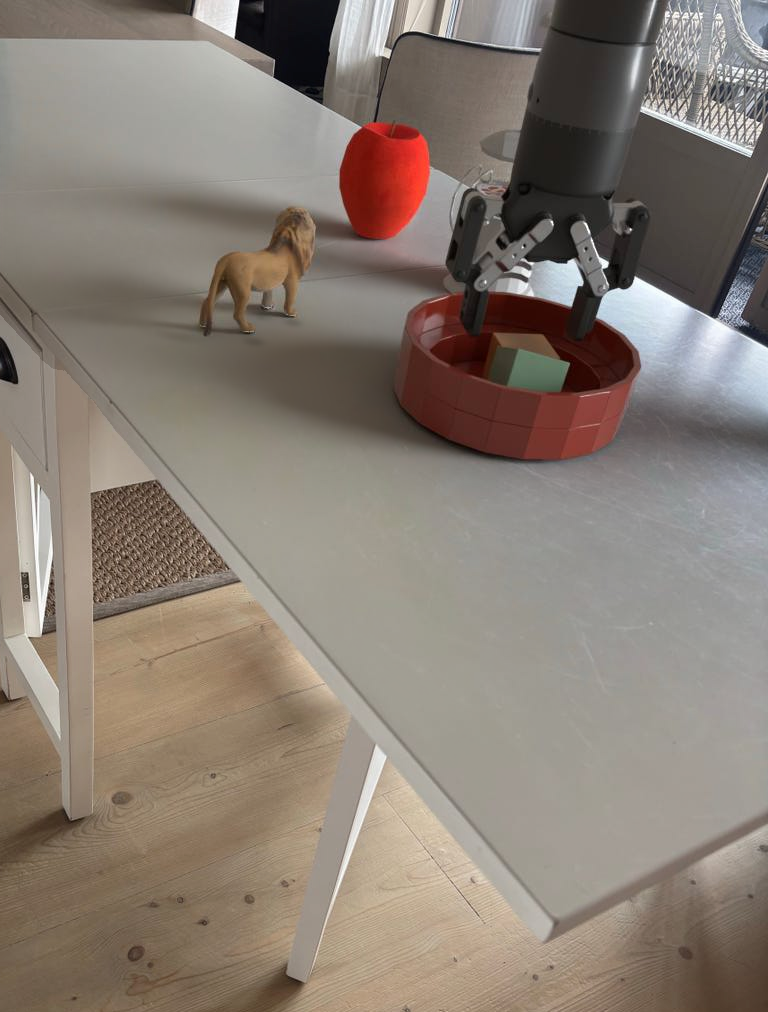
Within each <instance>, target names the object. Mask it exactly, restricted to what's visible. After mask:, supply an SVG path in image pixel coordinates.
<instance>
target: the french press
mask: <svg viewBox="0 0 768 1012" xmlns="http://www.w3.org/2000/svg"><path fill="white" fill-rule="evenodd" d="M551 15H552V11H548V12H546V13H544V14H543V15H542V17H541V19H540V21H539V27H542V28H544V29H547V30H548V27H549V25H550V19H551ZM520 132H521V128H508V129H504V130H499V131H496V132H493V133H492V134H490V135H488V136H486V137H484V138H483V139H482V140H480V141H479V146H480V149H481V152H482V153H483V154H485V155H486V156H488V157H491V158H493V159H495V160H498V161H502V162H506V163H511V164H513V163H514V158H515V154H516V150H517V145H518V141H519V137H520ZM477 168H479V171H478V177H477V178H476V179H475V181H474V182H473V184H472V185H471V187H470V188H474V189H476V190H477V191H478V193H479V194H482V195H490V196H498V197H501V196H502V195H503V193H504V192H505V191H506V189H507V187H508V185H509V183H510V181H509V180H507V181H506V180H502V179H501V180H500V179H498V180H497V179H496V180H493V177H494V170H493V169H487V170H485V171H484V172H483V165H482V164H479V163H477V164H476V165H475V166H473V167H472V168H470V169H469V170H468V171H466V173H465V174H464V175H463V177H462V178H461V180H460V181H459V183H458V185H457V187H456V188H455V191H454V193H453V196H452V199H451V204H450V209H449V226H450V230H451V233H452V234H453V230H454V224H453V223H454V222H453V213H454V207H455V200H456V197H457V195H458V194H459V193H458V192H459V190H460V188H461V186H462V185H463V183H464V182H465V180H466V179H467V177H468V176H469V175H470V173H472V172H473V171H475V170H476V169H477ZM482 172H483V173H482ZM489 173H490V175H489V178H488V180H485V179H484V178H483V177H485V176H486V175H488V174H489ZM479 181H480V183H479ZM496 217H497V218H496ZM503 227H504V225H503V223H502V220H501V218H500V216H499V214H497V215H495V216H494V217H493V218H492V219H491V221H490V223H489V225H488V226H487V227H485V228H481V232H480V236H479V239H478V243H477V246H476V250H475V254H474V257H473V261H472V263H473V262H474V261H475V260H476V259H477V257H478V256H479V255H480V254H481V253H482V252H483V251H484V250H485V249H486V245H487V243H488V242H489V241H490V240H491V239H492V238H493V237H494V236H495V235H496V234H497V233H498V232H499V231H500V230H501V229H502V228H503ZM510 245H511V244H510ZM510 245H509V246H510ZM509 246H508V247H509ZM534 264H535V262H527V261H526V259H524V258H522V259H521V260H520V261H519V262H518V263H517V264H516V265H515V266H514V267H513V268H512V269H511V270H510V271H508V272H504V273H503V274H502V275H501V276H500V277H499V278H498V279H497V280H496V281H495V282H494V283H493V284H492V285H491V286H490V287H489V288H488V289H487V290H488V291H493V292H509V293H515V294H521V295H527V296H533V297H536V296H535V292H534V290H533V288H532V287H531V285H530V280H529V278H530V277H531V276H532V272H533V267H532V266H534ZM442 282H443V287H444V288H445V289H446V290H447V291H448V293H455V292H464V290H465V285H466V284H465V283H463V282H457V281H455V280H454V278H453V277H452V275H451V273H450V272H449V273H448V274H447V275H446V276H445V277H444V278H443V279H442Z"/></svg>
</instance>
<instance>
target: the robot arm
mask: <svg viewBox="0 0 768 1012" xmlns="http://www.w3.org/2000/svg"><path fill="white" fill-rule="evenodd" d="M669 2H670V0H554V1H553V6H552V10H551V12H552V15H551V19H550V25H549V27H548V29H547V31H546V35H545V38H544V40H543V43H542V46H541V49H540V51H539V54H538V57H537V60H536V64H535V68H534V72H533V76H532V81H531V83H530V85H529V86H528V90H527V95H526V98H527V103H526V107H525V110H524V116H523V119H522V123H521V124H522V125H521V128H520V129H521V132H520V137H519V141H518V145H517V150H516V154H515V158H514V163H512V167H511V173H510V179H509V185H508V187H507V189H506V191H505V192H504V193H503V195H502V196H501V197H498V196H490V195H482V194H479V193H478V191H477V190H476V189H475V187H474V188H471V187H468V188H466V189H465V190H464V191H463V192H462V196H461V199H460V203H459V207H458V211H457V215H456V218H455V223H454V225H453V233H452V235H451V238H450V242H449V245H448V250H447V252H446V258H445V260H444V261H445V263H444V264H445V268H446V269H447V270H448V272H449V274H450V273H451V275H452V277H453V278H454V280H455V281H457V282H463V283H465V284H466V285H465V290H464V295H463V299H462V304H461V309H460V313H459V318H460V322H461V324H462V326H463V327H464V329H465V330H466V332H467V334H468V336H469V337H479V336H480V332H481V328H482V324H483V320H484V315H485V311H486V307H487V302H488V298H489V294H490V293H489V291H488V290H487V289H488V288H489V287H490V286H491V285H492V284H493V283H494V282H495V281H496V280H497V279H498V278H499V277H500V276H501V275H502V274H503V273H504V272H508V271H510V270H511V269H512V268H513V267H514V266H515V265H516V264H517V263H518V262H519V261H520V260H521V259H522V258H524V259H526V261H527V262H534V263H542V262H546V261H550V262H552V263H554V264H559V265H561V264H562V265H568V263H569V262H570V261H572V260H573V261H574V263H575V265H576V267H577V270H578V272H579V275H580V277H581V279H582V282H583V283H582V285H578V286H577V287H576V292H575V295H574V298H573V301H572V304H571V307H572V308H571V311H570V315H569V318H568V322H567V325H566V333H567V335H568V336H569V337H570V339H571V340H572V341H582V340H583V338H584V335H585V334H589V333H590V331H591V330H592V328H593V326H594V322H595V319H596V318H597V316H598V312H599V309H600V305H601V303H602V300H603V298H604V296H605V295H606V294H607V293H608V292H610V291H613V290H617V289H620V290H623V291H624V290H625V291H626V290H628V289H630V288H631V287H632V286H633V284H634V281H635V277H636V274H637V270H638V267H639V263H640V259H641V255H642V252H643V248H644V243H645V240H646V237H647V233H648V229H649V226H650V222H651V219H652V212H651V210H650V209H649V208H648V207H647V206H646V205H644V203H643V202H641V201H640V200H638V199H637V198H635V197H630V198H628V199H626V200H625V201H624V202H614V200H613V199H614V194H615V192H616V190H617V188H618V186H619V184H620V179H621V177H622V173H623V170H624V167H625V163H626V160H627V156H628V152H629V150H630V146H631V143H632V140H633V136H634V133H635V129H636V126H637V122H638V120H639V116H640V113H641V109H642V106H643V103H644V100H645V97H646V94H647V90H648V85H649V82H650V77H651V71H652V66H653V59H654V55H655V50H656V46H657V40H658V39H659V36H660V33H661V30H662V25H663V22H664V19H665V17H666V13H667V9H668V6H669ZM497 214H499V216H500V218H499V219H500V220H502V223H503V225H504V227H503V228H502V229H501V230H500V231H499V232H498V233H497V234H496V235H495V236H494V237H493V238H492V239H491V240H490V241H489V242H488V243H487V245H486V249H485V250H484V251H483V252H482V253H481V254H480V255H479V256H478V257H477V259H476V260H475V261H474V262H473V263H472V261H473V257H474V254H475V250H476V246H477V243H478V239H479V236H480V232H481V228H485V227H487V226H488V225H489V223H490V221H491V219H492V218H495V217H496V216H495V215H497ZM611 223H612V229H613V231H615V236H614V239H613V244H612V247H611V252H610V255H609V260H608V264H607V267H604V268H603V264H602V261H601V259H600V258H601V257H599V254H598V251H597V249H596V248H597V247H596V246H595V243H594V240H595V239H597V237H598V236H599V235H600V234H601V233H602V232H603V231H604V230H605V229H606V228H608V226H610V224H611ZM510 244H511V245H510ZM509 245H510V246H509ZM508 246H509V247H508Z"/></svg>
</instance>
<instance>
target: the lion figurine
mask: <svg viewBox="0 0 768 1012" xmlns="http://www.w3.org/2000/svg"><path fill="white" fill-rule="evenodd" d="M275 222H276V223H275V224H274V229H273V231H272V234H271V235H272V236H271V238H270V242H269V245H268V246H267V247H265V248H263V249H260V250H257V251H252V252H246V251H232V252H228V253H226V254H225V255H223V256H222V257H221V258H219V260H217V262H216V264H215V267H214V272H213V275H212V278H211V281H210V286H209V290H208V294H207V296H206V298H205V299H204V300H203V301H202V303H201V305H200V313H199V319H198V325H199V326H200V325H201V326H205V327H206V328H204V331H203V333H202V336H203V337H209V336H210V335H211V333H212V331H213V326H212V324H213V325H214V322H213V315H214V314H213V312H214V305H215V304H216V303H217V302H218V301H219V300H220V299H221V298H222V297H223V295H224V294H225V293H226V291H227V290H229V293H230V296H231V298H232V301H233V304H234V311H233V315H232V319H233V320H234V322H236V324H237V325H238V328H239V329H240V331H242V332H243V331H249V332H250V331H254V330H255V331H256V328H255V326H254V325H253V324H252V323H250V322H249V323H248V322H247V321H246V317H245V312H246V309H247V306H248V303H249V301H250V298H251V294H252V293H251V291H252V292H255V293H262V298H261V303H260V306H261V305H263V306H264V307H272V306H273V305H275V303H274V298H273V293H274V290H275V289H276V288H279V287H280V286H281V285H282V286H283V289H284V293H285V298H284V303H283V313H284V312H285V313H286V314H288V315H296V314H297V315H298V311H297V310H296V309H295V308H293V307H294V304H295V301H296V296H297V293H298V289H299V280H301V279H302V277H304V276H305V275H307V273H308V271H309V269H310V266H311V264H312V257H313V254H314V247H315V242H316V234H315V233H316V228H317V227H316V224H315V222H313V219H312V217H311V216H310V213H309V211H307V210H306V209H304V208H302V207H298V206H297V207H296V206H288V207H286V208H285V210H281V211H280V212H279V213H277V215H276V216H275ZM263 309H264V310H266V309H265V308H263ZM272 309H273V308H271V309H270V310H272ZM285 313H284V314H285ZM285 316H286V317H290V318H296V317H297V316H294V317H292V316H287V315H285ZM201 326H200V327H201ZM255 331H254V332H255Z"/></svg>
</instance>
